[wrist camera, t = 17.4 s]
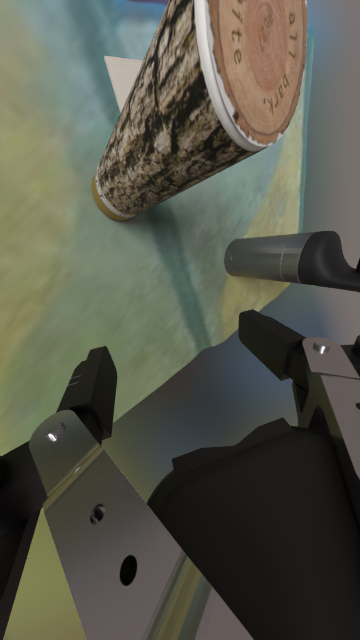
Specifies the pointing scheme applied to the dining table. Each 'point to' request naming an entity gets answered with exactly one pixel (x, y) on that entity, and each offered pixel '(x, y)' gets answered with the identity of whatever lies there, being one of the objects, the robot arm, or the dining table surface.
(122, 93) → the card
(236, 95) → the brown bark cylinder
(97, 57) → the dining table surface
